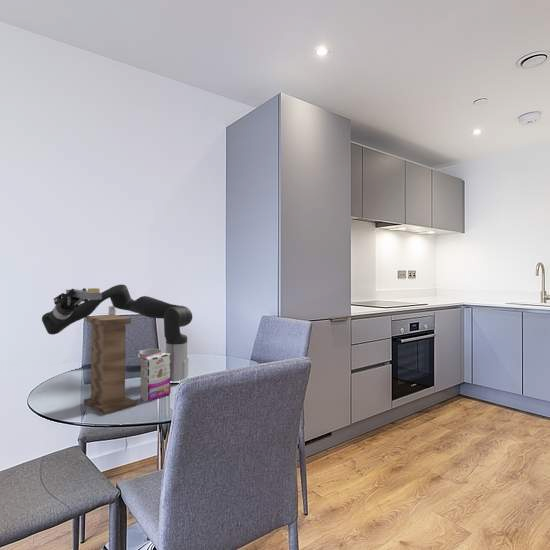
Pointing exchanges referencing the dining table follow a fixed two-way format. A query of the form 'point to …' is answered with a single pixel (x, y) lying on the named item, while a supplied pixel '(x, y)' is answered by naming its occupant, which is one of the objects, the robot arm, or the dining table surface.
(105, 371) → the stand
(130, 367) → the dining table surface
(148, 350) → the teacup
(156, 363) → the candy bar box
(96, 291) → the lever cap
